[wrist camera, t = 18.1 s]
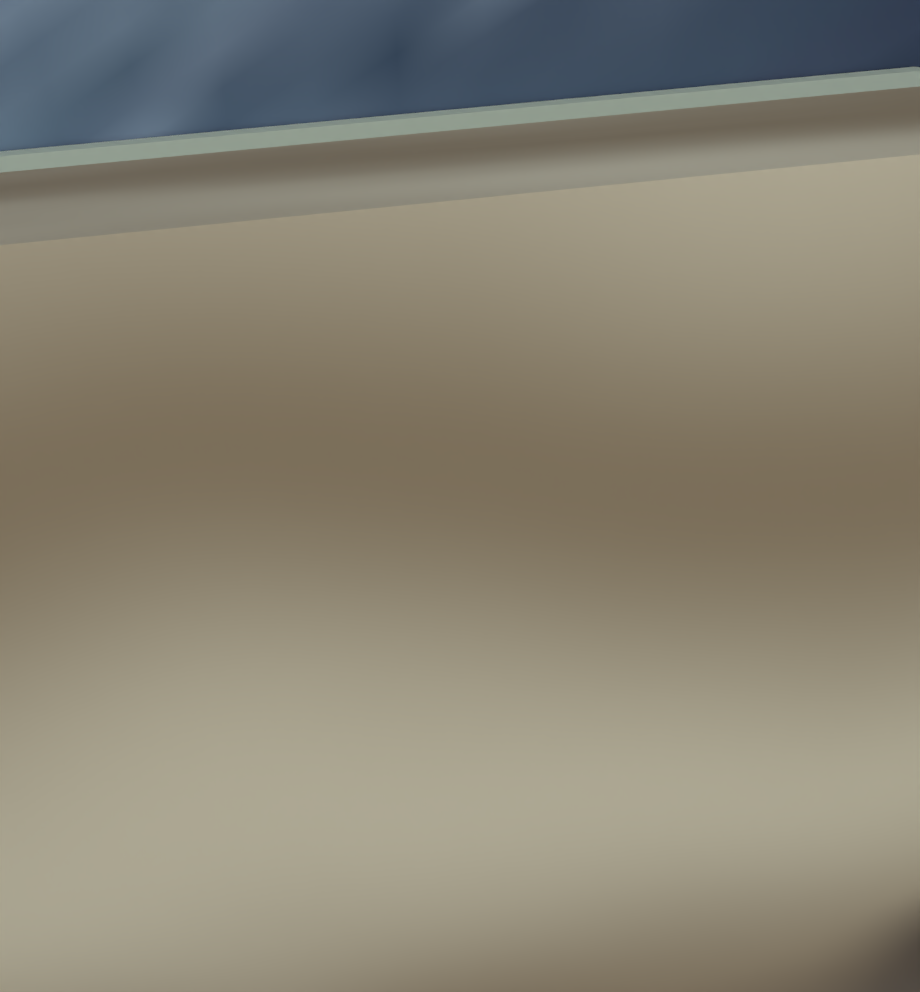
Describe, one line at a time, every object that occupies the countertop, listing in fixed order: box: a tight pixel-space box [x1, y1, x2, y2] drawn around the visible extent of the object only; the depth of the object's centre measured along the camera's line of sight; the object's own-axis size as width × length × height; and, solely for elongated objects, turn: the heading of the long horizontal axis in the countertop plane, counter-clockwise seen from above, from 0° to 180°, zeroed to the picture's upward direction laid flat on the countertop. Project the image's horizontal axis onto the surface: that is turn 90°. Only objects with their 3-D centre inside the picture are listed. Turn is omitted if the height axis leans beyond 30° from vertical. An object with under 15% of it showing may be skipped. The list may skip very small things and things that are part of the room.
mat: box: [0, 67, 920, 173], centre depth 13 cm, size 15×13×1 cm
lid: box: [0, 86, 920, 992], centre depth 10 cm, size 15×11×4 cm
